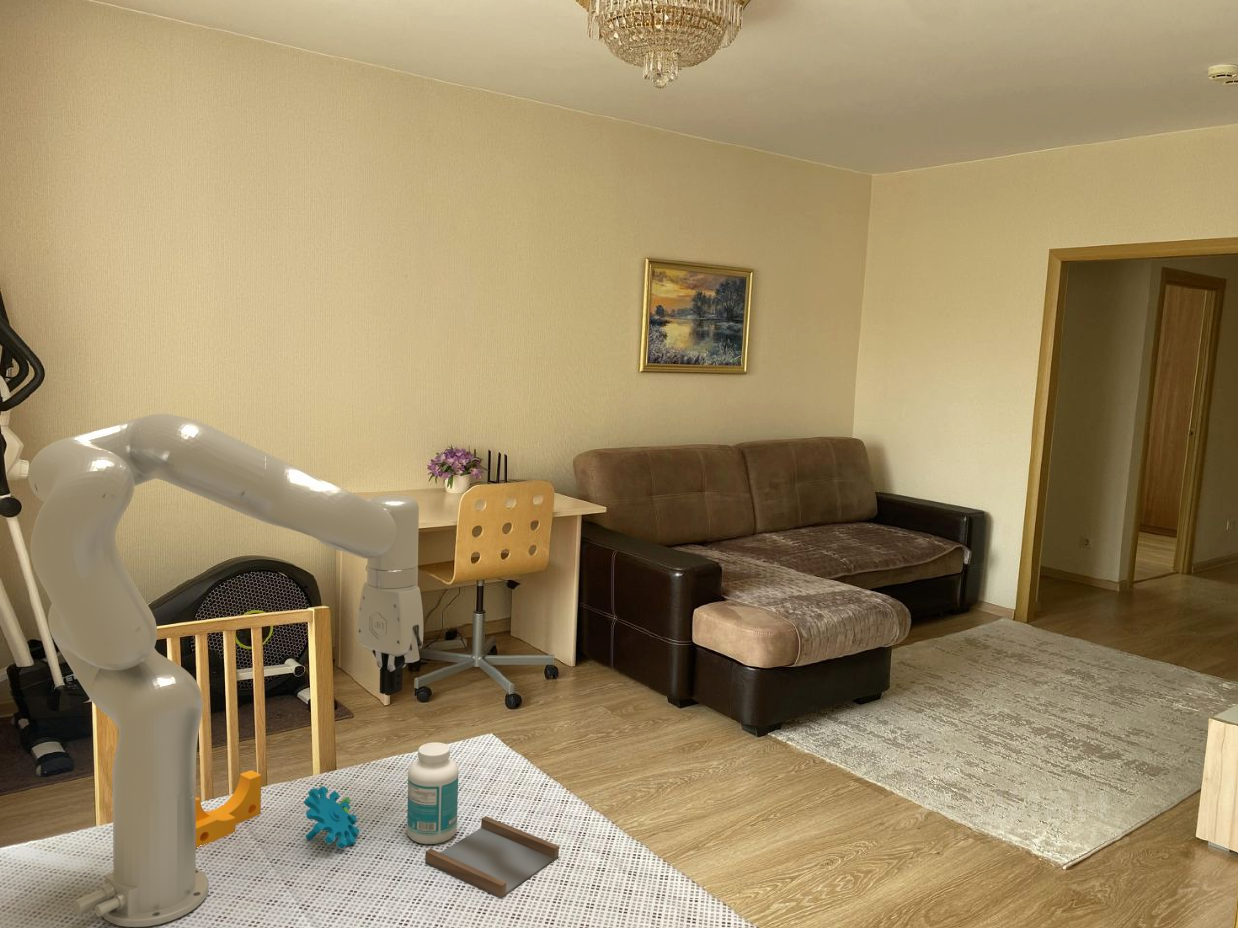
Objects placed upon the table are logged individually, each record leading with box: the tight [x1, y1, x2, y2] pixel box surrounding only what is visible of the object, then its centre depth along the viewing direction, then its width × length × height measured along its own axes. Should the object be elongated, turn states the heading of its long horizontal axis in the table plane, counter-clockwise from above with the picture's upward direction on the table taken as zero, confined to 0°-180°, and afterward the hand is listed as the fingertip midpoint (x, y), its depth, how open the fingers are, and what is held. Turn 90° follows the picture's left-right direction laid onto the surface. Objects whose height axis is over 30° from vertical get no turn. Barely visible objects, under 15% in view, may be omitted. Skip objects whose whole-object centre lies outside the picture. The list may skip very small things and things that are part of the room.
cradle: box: [424, 815, 560, 899], centre depth 134 cm, size 13×14×2 cm
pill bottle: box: [406, 742, 459, 845], centre depth 140 cm, size 8×7×14 cm
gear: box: [303, 785, 360, 849], centre depth 137 cm, size 11×6×10 cm
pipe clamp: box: [196, 769, 262, 849], centre depth 138 cm, size 12×4×6 cm, turn 146°
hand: (390, 691), depth 144 cm, fingers closed
